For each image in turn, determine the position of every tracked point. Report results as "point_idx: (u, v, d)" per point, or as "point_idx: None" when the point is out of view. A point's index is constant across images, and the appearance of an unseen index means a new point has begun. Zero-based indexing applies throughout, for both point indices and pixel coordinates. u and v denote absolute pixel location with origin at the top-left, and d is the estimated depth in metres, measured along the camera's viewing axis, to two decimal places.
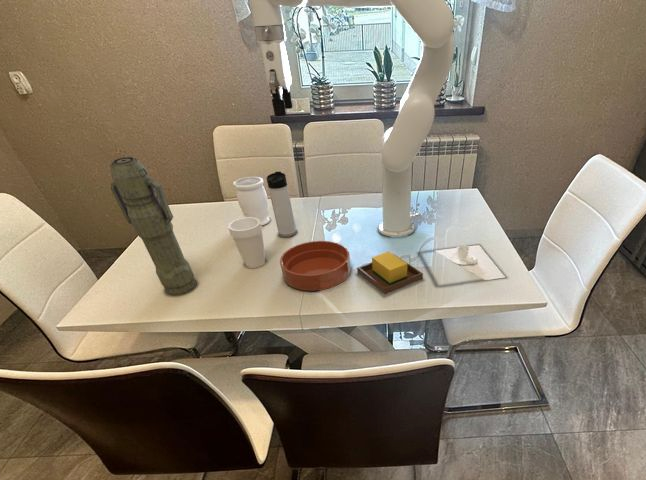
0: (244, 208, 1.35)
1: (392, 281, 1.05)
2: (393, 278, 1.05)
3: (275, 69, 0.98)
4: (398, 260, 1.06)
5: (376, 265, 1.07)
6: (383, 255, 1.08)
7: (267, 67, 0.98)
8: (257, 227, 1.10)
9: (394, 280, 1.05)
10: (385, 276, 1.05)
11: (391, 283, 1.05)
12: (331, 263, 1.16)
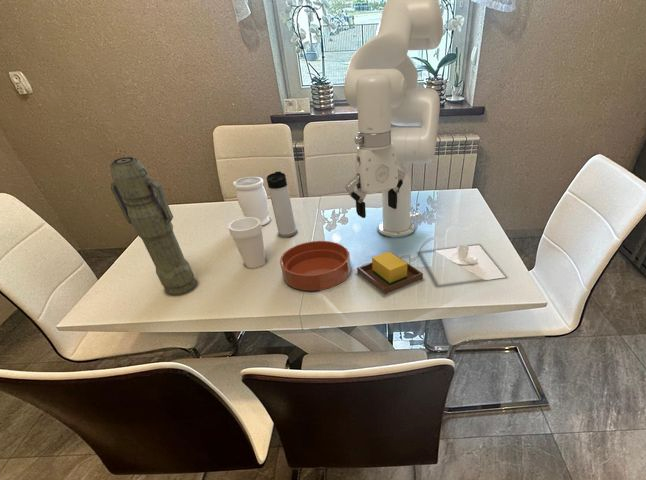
0: (244, 208, 1.35)
1: (392, 281, 1.05)
2: (393, 278, 1.05)
3: (360, 174, 0.90)
4: (398, 260, 1.06)
5: (376, 265, 1.07)
6: (383, 255, 1.08)
7: (356, 169, 0.91)
8: (257, 227, 1.10)
9: (394, 280, 1.05)
10: (385, 276, 1.05)
11: (391, 283, 1.05)
12: (331, 263, 1.16)
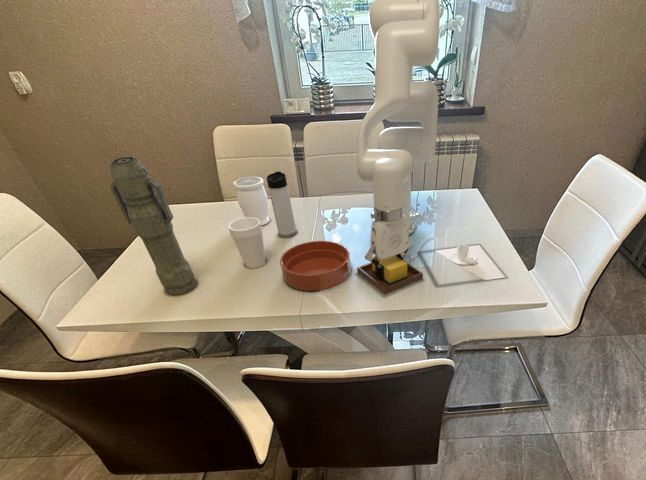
0: (244, 208, 1.35)
1: (392, 281, 1.05)
2: (393, 278, 1.05)
3: (375, 243, 0.99)
4: (398, 260, 1.06)
5: None
6: None
7: (371, 238, 1.00)
8: (257, 227, 1.10)
9: (394, 280, 1.05)
10: (385, 276, 1.05)
11: (391, 283, 1.05)
12: (331, 263, 1.16)
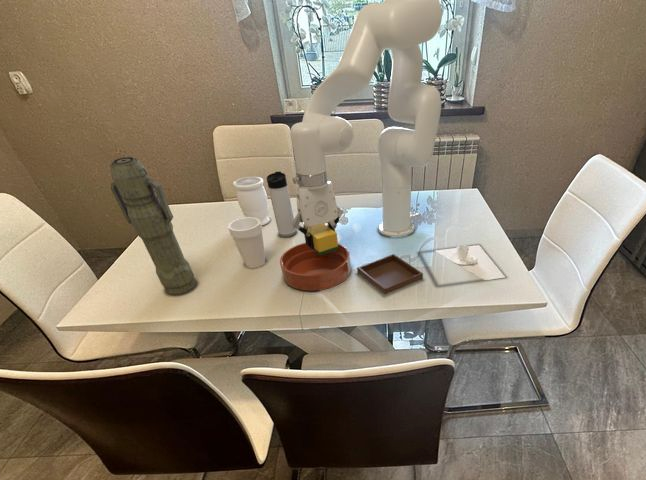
0: (244, 208, 1.35)
1: (322, 251, 1.04)
2: (322, 247, 1.04)
3: (300, 210, 0.98)
4: (328, 230, 1.05)
5: None
6: None
7: (297, 205, 0.99)
8: (257, 227, 1.10)
9: (324, 249, 1.05)
10: (315, 246, 1.05)
11: (321, 253, 1.04)
12: (331, 263, 1.16)
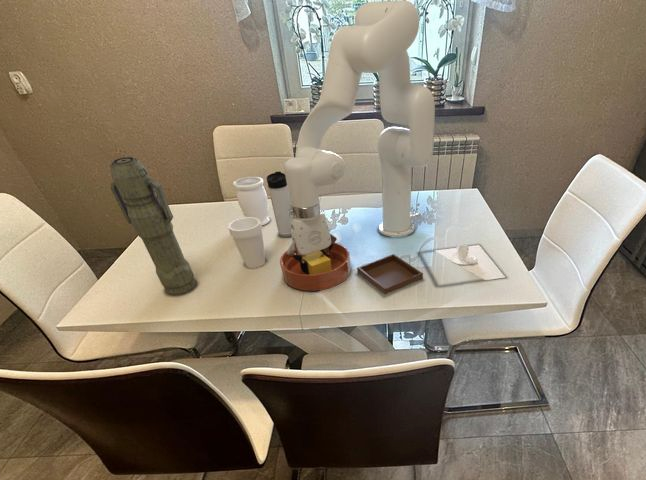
0: (244, 208, 1.35)
1: None
2: None
3: (295, 239, 1.02)
4: (322, 256, 1.09)
5: None
6: None
7: None
8: (257, 227, 1.10)
9: None
10: (310, 272, 1.09)
11: None
12: (331, 263, 1.16)
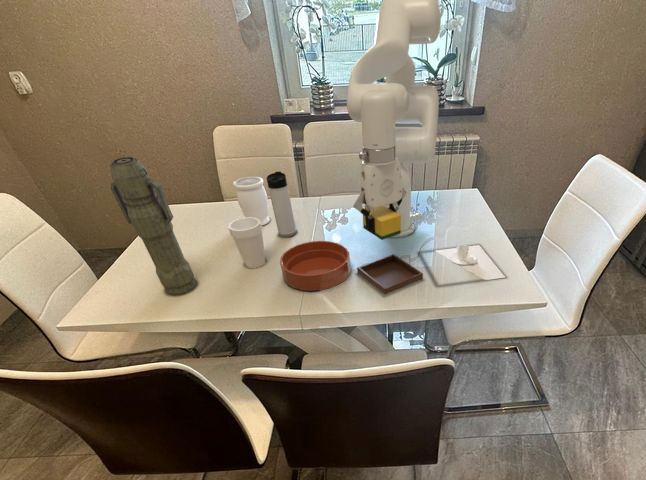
0: (244, 208, 1.35)
1: (384, 235, 0.96)
2: (385, 231, 0.95)
3: (364, 189, 0.90)
4: (391, 212, 0.97)
5: None
6: (375, 208, 0.99)
7: (360, 184, 0.91)
8: (257, 227, 1.10)
9: (387, 233, 0.96)
10: (377, 229, 0.96)
11: (383, 237, 0.96)
12: (331, 263, 1.16)
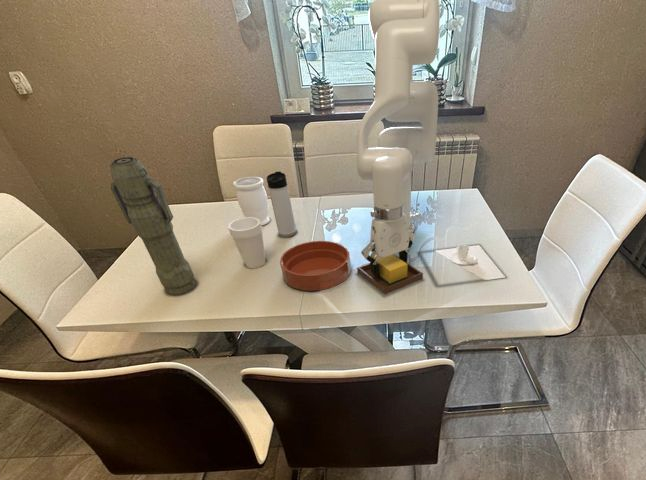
0: (244, 208, 1.35)
1: (392, 282, 1.05)
2: (393, 279, 1.04)
3: (375, 241, 0.99)
4: (398, 260, 1.06)
5: None
6: None
7: (371, 236, 1.00)
8: (257, 227, 1.10)
9: (395, 280, 1.05)
10: (385, 277, 1.05)
11: (391, 284, 1.05)
12: (331, 263, 1.16)
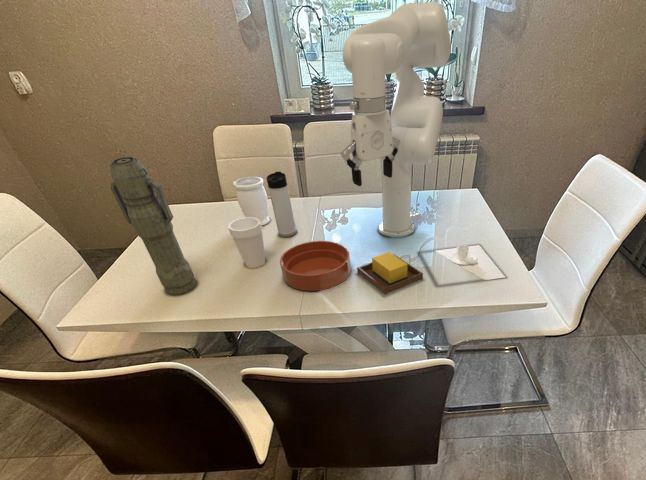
0: (244, 208, 1.35)
1: (392, 282, 1.05)
2: (393, 279, 1.04)
3: (355, 141, 0.91)
4: (398, 260, 1.06)
5: (376, 266, 1.07)
6: (383, 255, 1.08)
7: (351, 136, 0.92)
8: (257, 227, 1.10)
9: (395, 280, 1.05)
10: (385, 277, 1.05)
11: (391, 284, 1.05)
12: (331, 263, 1.16)
